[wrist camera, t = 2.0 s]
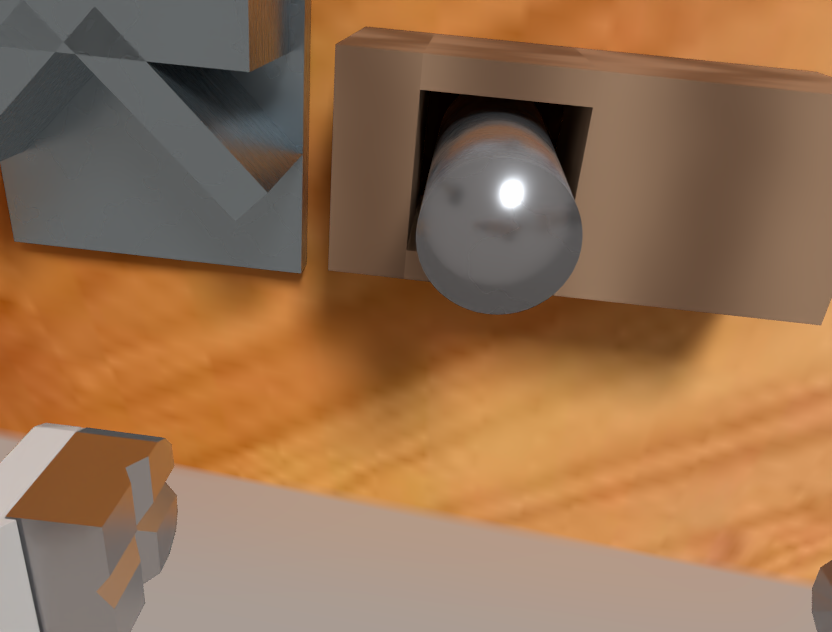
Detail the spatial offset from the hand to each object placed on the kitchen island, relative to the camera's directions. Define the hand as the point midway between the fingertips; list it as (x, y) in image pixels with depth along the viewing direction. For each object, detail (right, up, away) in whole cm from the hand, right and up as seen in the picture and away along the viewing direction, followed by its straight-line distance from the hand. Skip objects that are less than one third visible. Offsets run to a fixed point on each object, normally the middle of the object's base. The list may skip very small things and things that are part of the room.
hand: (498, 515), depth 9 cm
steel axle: (+2, +9, +18) cm, 21 cm away
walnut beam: (+5, +9, +18) cm, 21 cm away
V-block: (-11, +11, +19) cm, 24 cm away
